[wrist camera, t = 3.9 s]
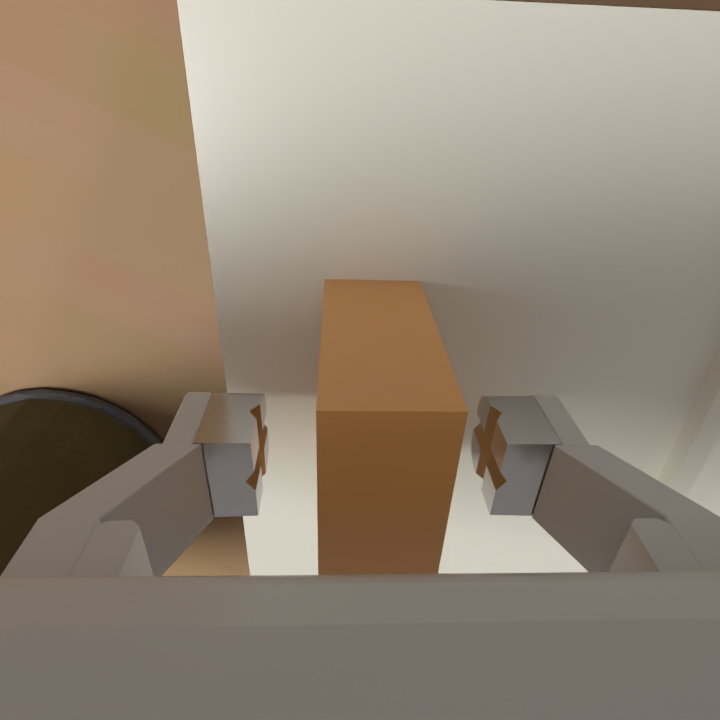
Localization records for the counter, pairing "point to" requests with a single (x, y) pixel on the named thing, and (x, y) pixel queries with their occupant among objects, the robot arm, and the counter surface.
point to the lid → (455, 257)
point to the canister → (57, 454)
